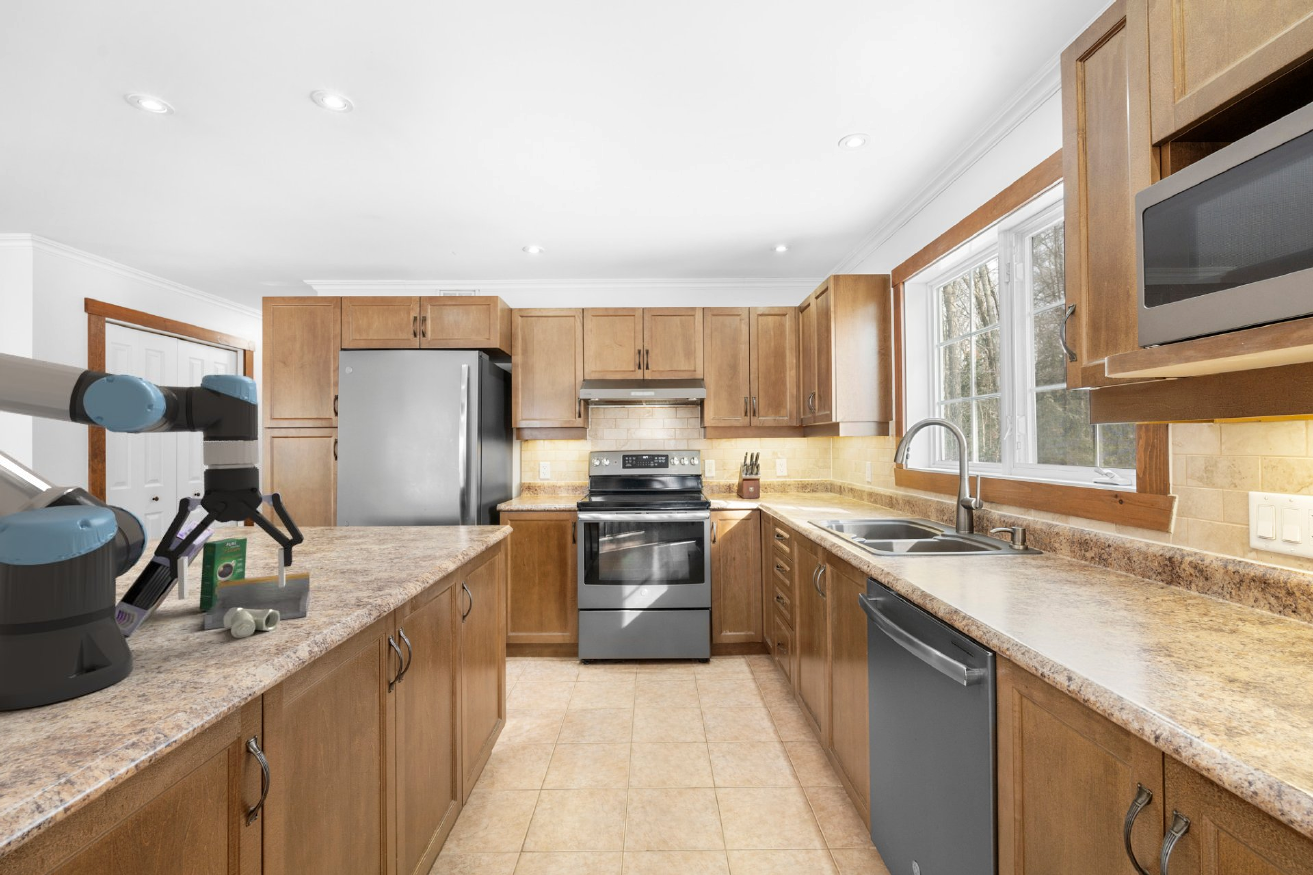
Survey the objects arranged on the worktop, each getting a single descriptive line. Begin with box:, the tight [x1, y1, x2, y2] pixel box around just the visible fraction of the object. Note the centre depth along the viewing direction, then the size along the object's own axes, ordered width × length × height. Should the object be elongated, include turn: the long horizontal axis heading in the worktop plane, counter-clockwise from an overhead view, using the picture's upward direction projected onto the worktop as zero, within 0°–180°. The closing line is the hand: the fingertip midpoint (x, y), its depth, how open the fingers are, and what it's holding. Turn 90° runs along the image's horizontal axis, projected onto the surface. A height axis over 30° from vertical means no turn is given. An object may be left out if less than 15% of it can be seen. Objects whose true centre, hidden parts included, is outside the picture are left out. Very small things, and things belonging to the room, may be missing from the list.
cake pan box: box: [116, 520, 216, 637], centre depth 104 cm, size 19×5×18 cm, turn 30°
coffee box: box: [199, 536, 248, 612], centre depth 114 cm, size 8×3×13 cm, turn 175°
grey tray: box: [204, 571, 311, 631], centre depth 108 cm, size 13×15×6 cm
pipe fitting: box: [223, 607, 281, 639], centre depth 97 cm, size 8×4×7 cm
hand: (234, 591), depth 97 cm, fingers open, 13 cm apart
